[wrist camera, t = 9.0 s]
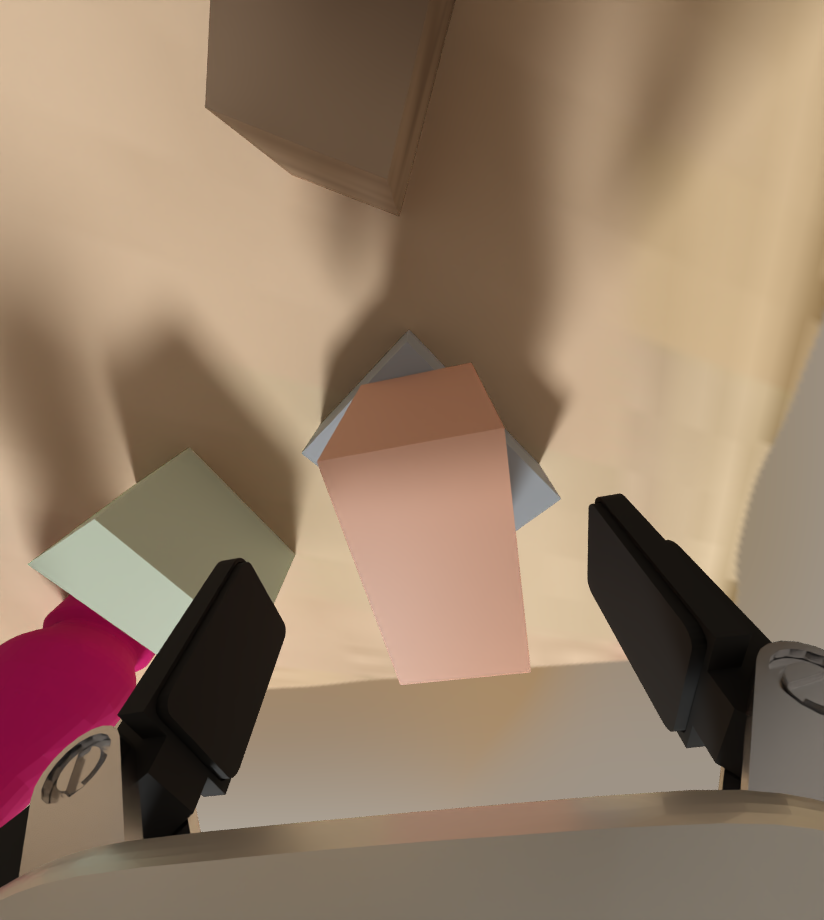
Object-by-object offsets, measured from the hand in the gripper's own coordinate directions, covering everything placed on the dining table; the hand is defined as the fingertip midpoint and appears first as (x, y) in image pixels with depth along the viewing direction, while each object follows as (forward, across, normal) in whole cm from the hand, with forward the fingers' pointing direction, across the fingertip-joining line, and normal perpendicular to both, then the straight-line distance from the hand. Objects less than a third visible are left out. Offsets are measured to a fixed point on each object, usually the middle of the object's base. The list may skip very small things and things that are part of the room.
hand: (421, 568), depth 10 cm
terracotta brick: (+5, -1, 0) cm, 5 cm away
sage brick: (+9, +12, +3) cm, 15 cm away
